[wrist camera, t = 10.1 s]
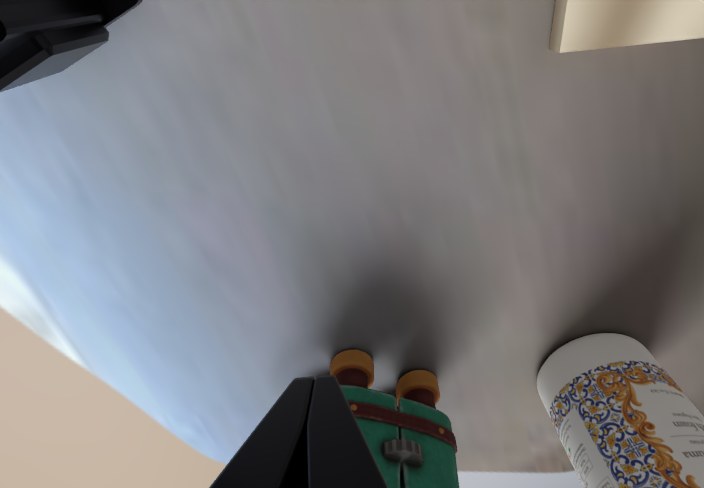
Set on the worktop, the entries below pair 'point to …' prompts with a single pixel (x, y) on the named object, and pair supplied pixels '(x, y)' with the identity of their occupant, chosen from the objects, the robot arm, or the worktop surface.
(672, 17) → the birch board
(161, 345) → the worktop surface
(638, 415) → the bath foam
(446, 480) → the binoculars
